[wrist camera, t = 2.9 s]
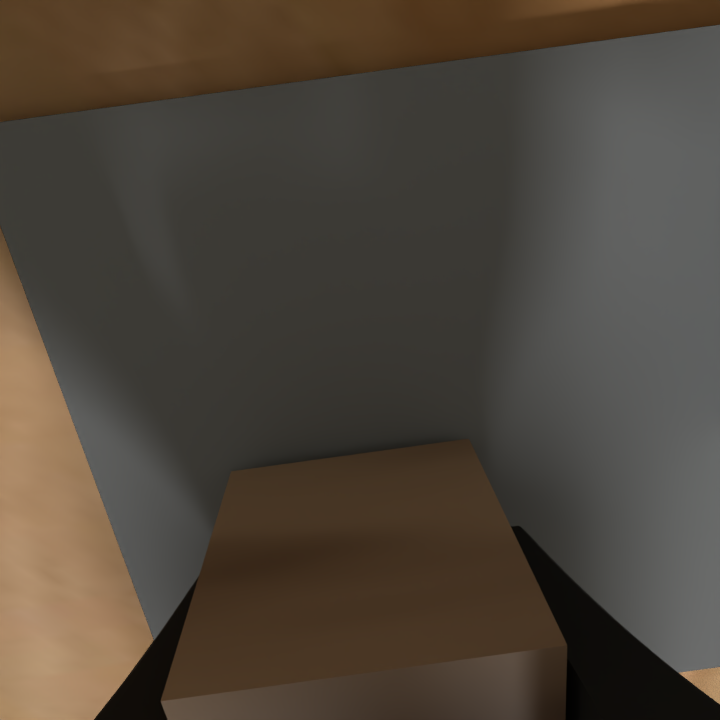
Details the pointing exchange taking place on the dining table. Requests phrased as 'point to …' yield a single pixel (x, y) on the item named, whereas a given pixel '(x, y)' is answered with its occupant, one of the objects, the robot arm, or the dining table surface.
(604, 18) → the dining table surface
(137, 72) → the dining table surface
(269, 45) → the dining table surface
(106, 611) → the dining table surface
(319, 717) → the walnut cube
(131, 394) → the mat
